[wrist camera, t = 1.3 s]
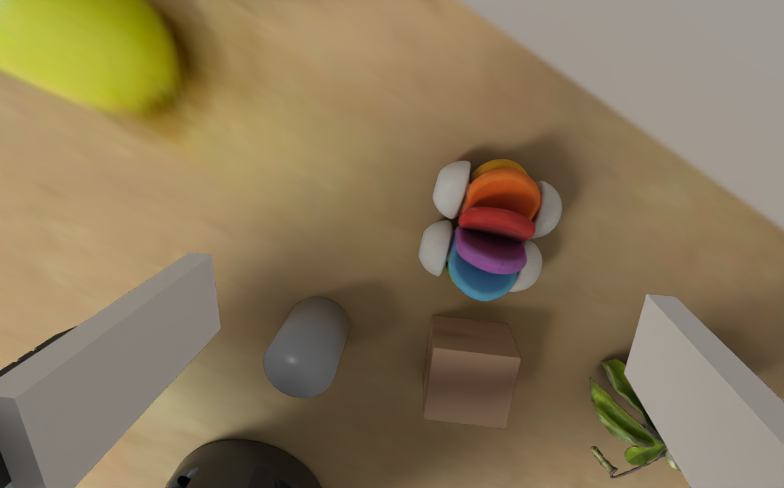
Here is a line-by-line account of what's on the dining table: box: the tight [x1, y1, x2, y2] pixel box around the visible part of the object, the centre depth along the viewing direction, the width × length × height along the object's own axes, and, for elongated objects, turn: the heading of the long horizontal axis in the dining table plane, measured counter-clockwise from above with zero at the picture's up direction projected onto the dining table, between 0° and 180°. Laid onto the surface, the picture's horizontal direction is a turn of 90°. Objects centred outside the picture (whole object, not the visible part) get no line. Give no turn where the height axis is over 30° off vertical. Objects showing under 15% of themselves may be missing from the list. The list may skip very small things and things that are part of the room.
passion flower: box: [590, 359, 681, 478], centre depth 32 cm, size 11×11×12 cm
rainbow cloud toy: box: [419, 159, 562, 301], centre depth 28 cm, size 8×10×7 cm
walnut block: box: [423, 315, 521, 429], centre depth 33 cm, size 6×6×5 cm
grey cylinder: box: [263, 297, 349, 398], centre depth 32 cm, size 5×5×6 cm
